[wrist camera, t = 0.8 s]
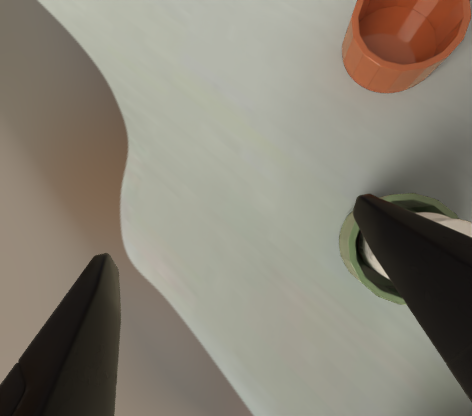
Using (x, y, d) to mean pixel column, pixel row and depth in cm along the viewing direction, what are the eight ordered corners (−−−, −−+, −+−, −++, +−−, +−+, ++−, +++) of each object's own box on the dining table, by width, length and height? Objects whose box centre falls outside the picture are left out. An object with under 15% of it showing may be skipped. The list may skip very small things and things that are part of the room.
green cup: (461, 240, 21) (496, 245, 17) (393, 310, 21) (414, 328, 18) (382, 178, 22) (400, 171, 18) (319, 246, 22) (326, 252, 19)
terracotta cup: (462, 36, 21) (497, 1, 18) (395, 111, 22) (416, 91, 18) (384, -14, 22) (402, -57, 19) (323, 58, 23) (329, 30, 19)
